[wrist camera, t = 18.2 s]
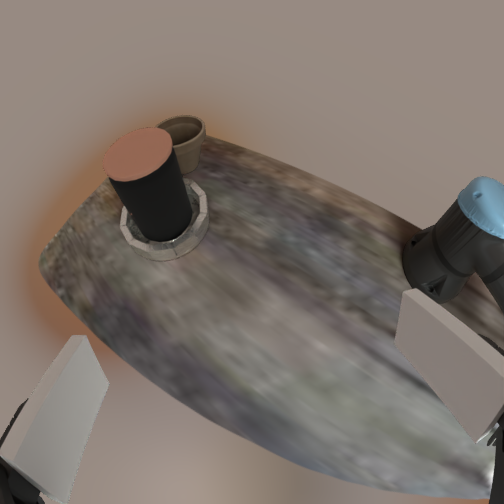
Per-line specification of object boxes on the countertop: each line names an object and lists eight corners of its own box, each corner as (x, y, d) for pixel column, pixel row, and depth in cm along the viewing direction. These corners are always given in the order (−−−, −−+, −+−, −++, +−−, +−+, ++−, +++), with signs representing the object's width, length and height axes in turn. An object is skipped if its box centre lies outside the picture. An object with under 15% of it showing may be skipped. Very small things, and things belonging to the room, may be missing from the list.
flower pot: (185, 142, 62) (178, 109, 53) (220, 158, 58) (216, 123, 50) (150, 170, 57) (138, 137, 48) (184, 191, 54) (173, 155, 45)
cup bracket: (207, 184, 55) (204, 170, 51) (212, 254, 47) (209, 243, 44) (132, 196, 54) (126, 184, 50) (125, 266, 46) (116, 256, 43)
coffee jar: (148, 198, 52) (118, 130, 37) (198, 198, 52) (180, 124, 36) (134, 243, 48) (90, 179, 32) (188, 246, 47) (159, 176, 31)
